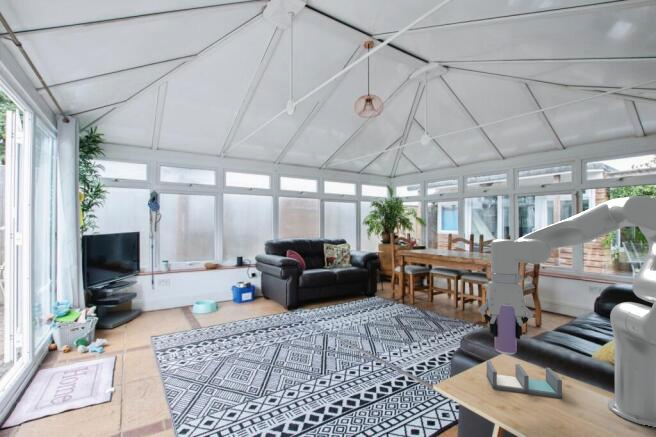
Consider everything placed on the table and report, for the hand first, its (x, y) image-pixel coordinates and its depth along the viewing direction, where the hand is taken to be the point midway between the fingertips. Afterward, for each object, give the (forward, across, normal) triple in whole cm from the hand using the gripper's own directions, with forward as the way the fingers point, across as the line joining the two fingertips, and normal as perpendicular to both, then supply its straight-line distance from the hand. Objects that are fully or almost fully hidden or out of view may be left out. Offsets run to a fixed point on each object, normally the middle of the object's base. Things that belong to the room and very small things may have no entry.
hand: (505, 336), depth 97 cm
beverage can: (+5, 0, 0) cm, 5 cm away
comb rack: (+19, -7, -10) cm, 23 cm away
